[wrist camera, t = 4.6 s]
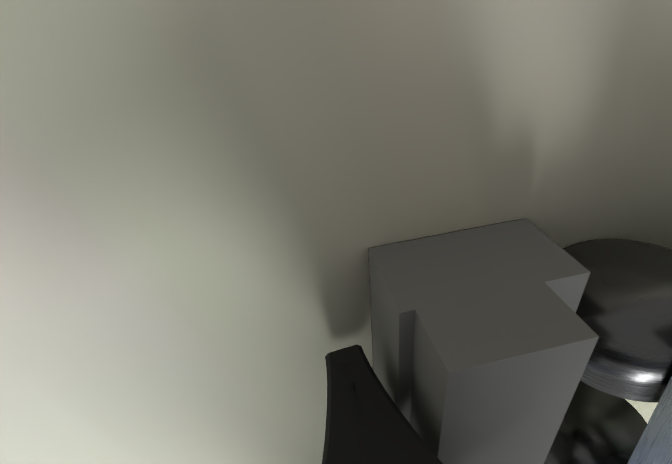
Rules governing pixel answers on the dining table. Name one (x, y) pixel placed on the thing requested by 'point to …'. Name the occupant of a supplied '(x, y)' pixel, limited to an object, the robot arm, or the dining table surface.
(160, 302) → the dining table surface
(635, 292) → the trolley
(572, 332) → the block
